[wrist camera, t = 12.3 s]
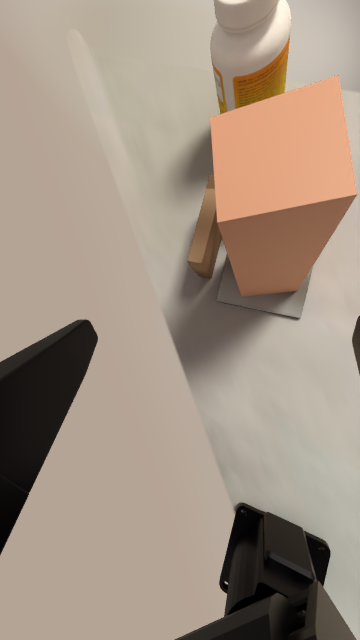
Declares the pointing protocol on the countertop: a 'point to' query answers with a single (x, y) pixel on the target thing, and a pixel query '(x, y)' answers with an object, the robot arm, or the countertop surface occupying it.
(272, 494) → the countertop surface
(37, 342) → the robot arm
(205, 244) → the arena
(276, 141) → the terracotta block
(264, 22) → the supplement bottle
